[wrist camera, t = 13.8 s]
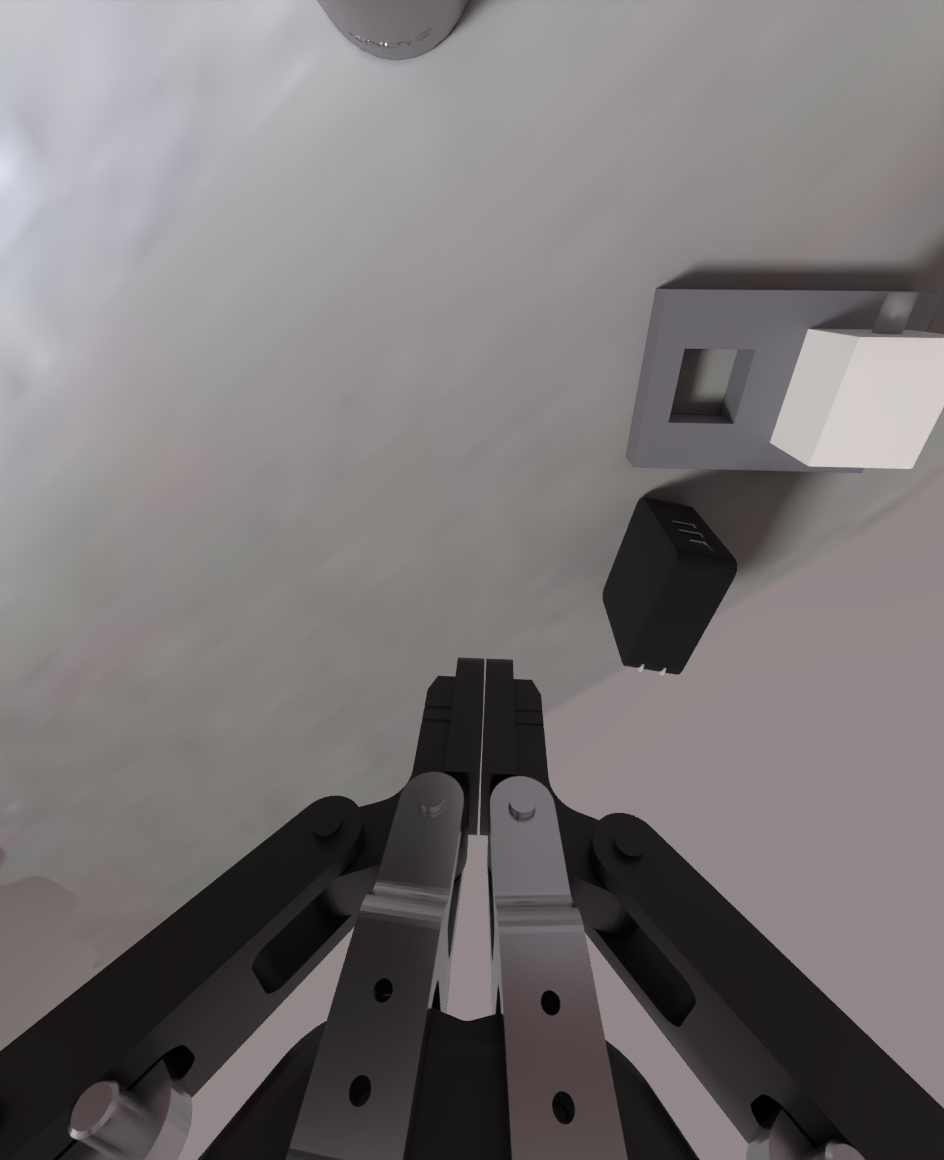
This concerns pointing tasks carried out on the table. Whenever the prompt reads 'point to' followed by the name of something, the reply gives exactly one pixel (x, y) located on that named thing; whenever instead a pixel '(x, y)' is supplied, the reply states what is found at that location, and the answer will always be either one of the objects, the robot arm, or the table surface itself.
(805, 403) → the plug
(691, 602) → the electronic device
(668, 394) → the socket plate
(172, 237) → the table surface
